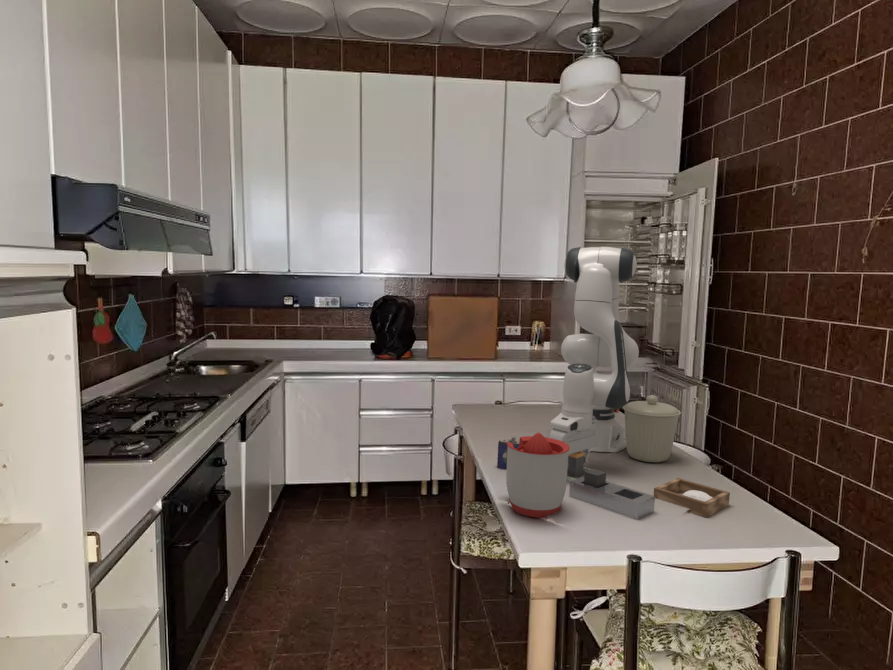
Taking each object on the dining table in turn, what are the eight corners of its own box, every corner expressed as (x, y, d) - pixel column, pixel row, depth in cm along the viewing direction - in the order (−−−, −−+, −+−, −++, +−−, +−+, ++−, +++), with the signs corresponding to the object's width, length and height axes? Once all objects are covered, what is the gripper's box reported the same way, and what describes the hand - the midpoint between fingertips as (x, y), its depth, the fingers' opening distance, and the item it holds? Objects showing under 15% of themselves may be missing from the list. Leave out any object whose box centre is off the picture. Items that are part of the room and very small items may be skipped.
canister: (681, 469, 195) (686, 403, 193) (621, 463, 198) (625, 398, 196) (672, 453, 212) (677, 392, 210) (617, 448, 216) (621, 388, 214)
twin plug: (591, 494, 167) (593, 468, 167) (604, 498, 164) (606, 472, 164) (583, 497, 165) (584, 471, 164) (595, 501, 162) (597, 475, 161)
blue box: (528, 470, 188) (529, 436, 187) (527, 473, 185) (528, 438, 184) (497, 467, 190) (499, 433, 189) (496, 470, 187) (497, 435, 186)
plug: (571, 472, 186) (573, 449, 186) (583, 475, 184) (584, 452, 183) (563, 474, 184) (564, 451, 183) (574, 478, 181) (576, 454, 180)
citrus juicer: (519, 492, 170) (523, 420, 167) (577, 509, 159) (581, 432, 157) (485, 508, 158) (489, 430, 155) (545, 528, 147) (550, 445, 144)
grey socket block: (586, 492, 171) (587, 475, 170) (653, 515, 156) (655, 496, 156) (568, 499, 166) (569, 481, 165) (637, 523, 151) (638, 503, 151)
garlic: (718, 507, 164) (719, 493, 164) (707, 514, 159) (708, 499, 159) (688, 498, 170) (689, 485, 169) (677, 504, 165) (678, 491, 165)
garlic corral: (677, 489, 176) (678, 477, 175) (728, 505, 165) (729, 492, 165) (653, 500, 167) (654, 488, 166) (706, 517, 156) (707, 504, 156)
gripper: (587, 413, 191) (585, 456, 193) (546, 422, 177) (544, 469, 179) (605, 417, 187) (603, 462, 188) (564, 427, 173) (562, 475, 174)
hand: (573, 466), depth 183 cm, fingers open, 8 cm apart
